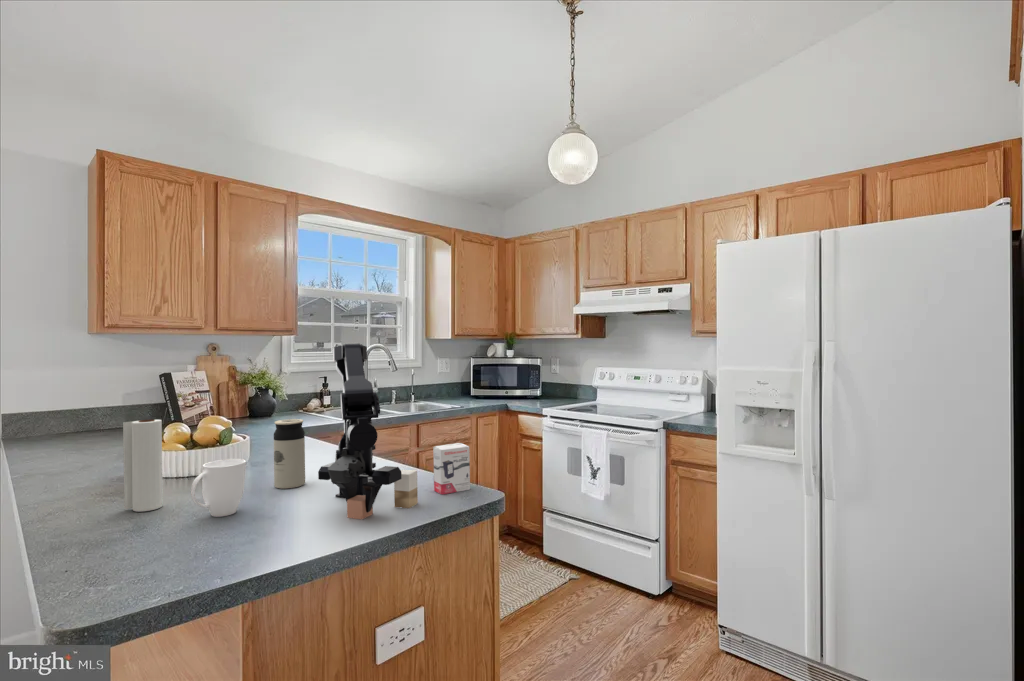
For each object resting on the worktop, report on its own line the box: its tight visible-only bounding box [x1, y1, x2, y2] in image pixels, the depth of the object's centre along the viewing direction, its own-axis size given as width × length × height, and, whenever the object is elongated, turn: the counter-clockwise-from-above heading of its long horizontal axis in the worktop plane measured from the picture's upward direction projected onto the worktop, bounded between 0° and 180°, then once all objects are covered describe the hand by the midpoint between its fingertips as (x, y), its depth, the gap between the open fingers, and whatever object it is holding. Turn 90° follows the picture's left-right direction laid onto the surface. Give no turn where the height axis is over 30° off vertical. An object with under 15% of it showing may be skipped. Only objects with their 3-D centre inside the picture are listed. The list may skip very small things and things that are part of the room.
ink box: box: [432, 442, 471, 496], centre depth 141 cm, size 8×5×12 cm, turn 123°
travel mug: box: [273, 418, 306, 490], centre depth 149 cm, size 8×8×18 cm
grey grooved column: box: [122, 418, 164, 513], centre depth 130 cm, size 7×6×21 cm
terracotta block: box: [346, 495, 374, 520], centre depth 121 cm, size 4×4×4 cm
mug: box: [190, 458, 247, 518], centre depth 123 cm, size 12×9×12 cm
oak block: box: [393, 487, 419, 509], centre depth 129 cm, size 4×4×4 cm
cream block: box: [393, 469, 418, 491], centre depth 129 cm, size 4×4×4 cm
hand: (360, 511), depth 121 cm, fingers closed on terracotta block, 4 cm apart
